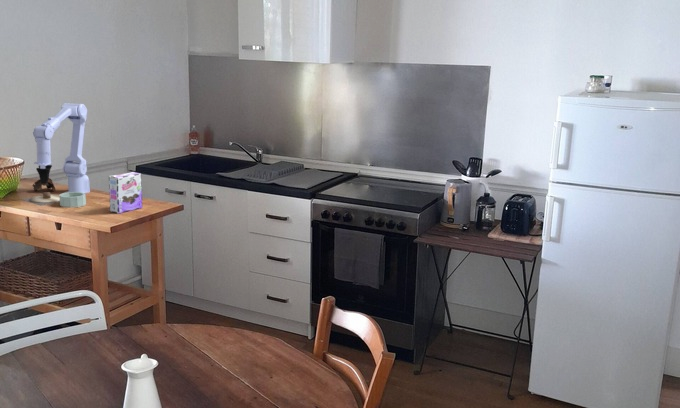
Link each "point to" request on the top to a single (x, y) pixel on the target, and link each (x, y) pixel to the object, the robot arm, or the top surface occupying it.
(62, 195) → the bowl
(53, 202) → the mat
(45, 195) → the lid
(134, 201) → the candy box
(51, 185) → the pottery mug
